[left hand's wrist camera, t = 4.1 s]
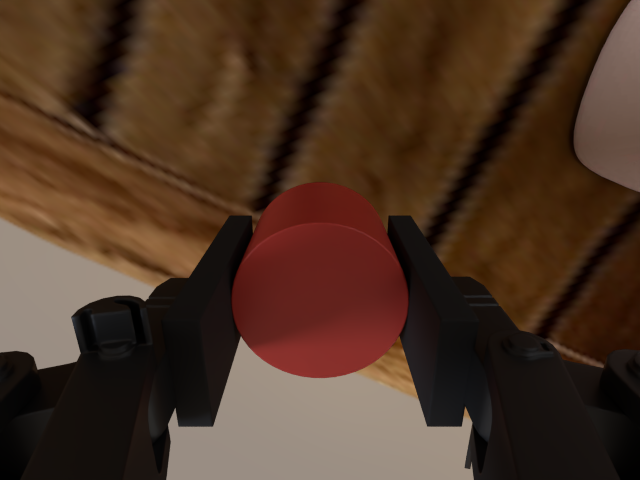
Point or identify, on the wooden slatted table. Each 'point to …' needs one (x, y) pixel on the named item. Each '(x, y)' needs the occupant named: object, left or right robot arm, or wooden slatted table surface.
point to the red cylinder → (320, 284)
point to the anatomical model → (614, 106)
